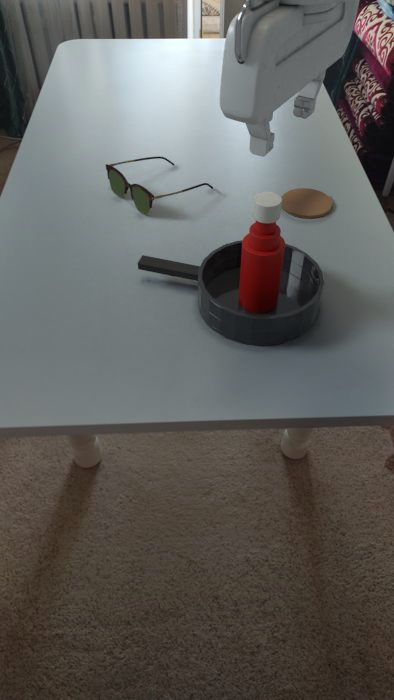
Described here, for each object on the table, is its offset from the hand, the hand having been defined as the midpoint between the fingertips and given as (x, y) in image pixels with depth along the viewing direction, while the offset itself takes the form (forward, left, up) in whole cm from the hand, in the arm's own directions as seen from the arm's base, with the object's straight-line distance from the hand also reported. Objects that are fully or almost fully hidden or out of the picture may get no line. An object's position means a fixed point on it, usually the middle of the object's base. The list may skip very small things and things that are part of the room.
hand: (283, 132), depth 54 cm
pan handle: (+15, -6, -25) cm, 30 cm away
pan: (+2, -6, -28) cm, 29 cm away
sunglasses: (+26, -31, -28) cm, 49 cm away
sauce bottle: (+2, -6, -28) cm, 28 cm away
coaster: (0, -34, -28) cm, 44 cm away
